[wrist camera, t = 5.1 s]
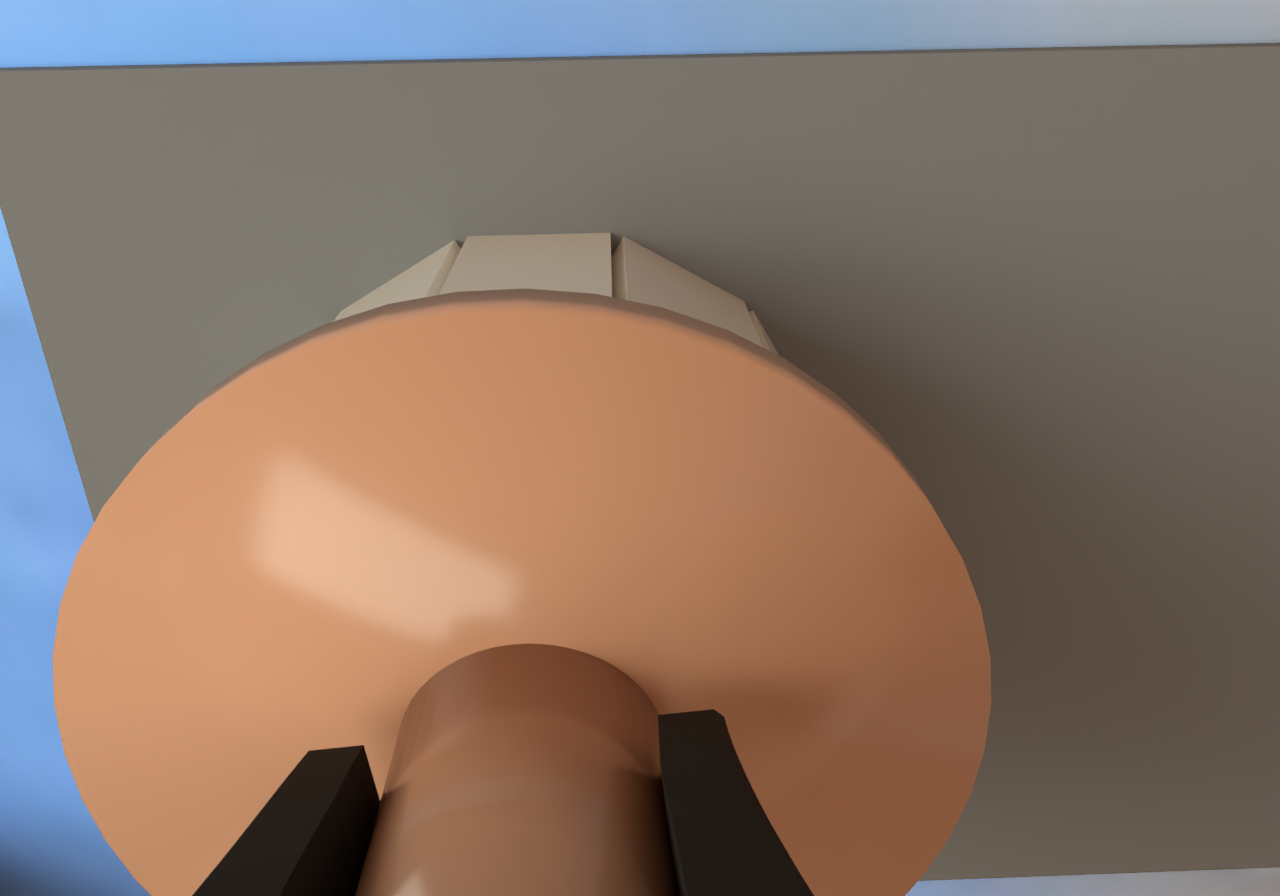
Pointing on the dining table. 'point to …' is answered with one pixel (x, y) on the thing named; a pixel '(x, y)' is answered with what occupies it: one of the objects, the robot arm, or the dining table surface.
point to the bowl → (568, 277)
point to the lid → (522, 606)
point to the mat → (797, 332)
